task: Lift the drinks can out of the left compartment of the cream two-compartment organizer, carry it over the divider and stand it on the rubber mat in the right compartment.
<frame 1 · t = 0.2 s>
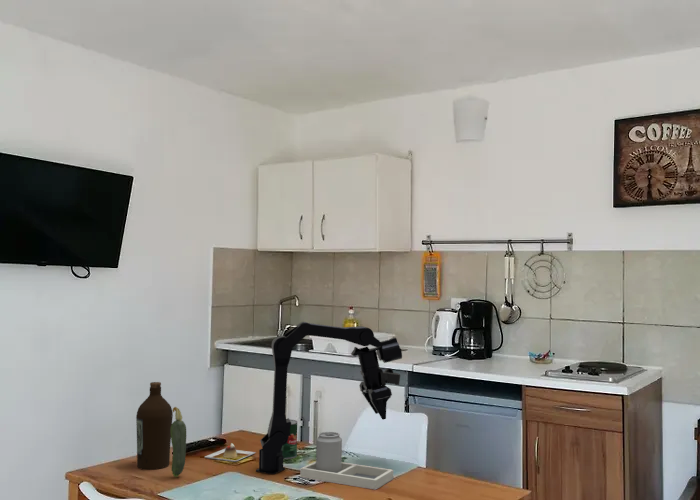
hand: (380, 416, 205), 15 cm above the table, tool pointing down, fingers open, 9 cm apart
can: (328, 475, 195), resting in organizer
vegetable: (177, 478, 190), on the table
organizer: (346, 477, 192), on the table
dessert: (230, 458, 215), on the table
canned tomato: (284, 456, 216), on the table
mat: (364, 480, 189), resting in organizer
olive oil: (152, 466, 202), on the table
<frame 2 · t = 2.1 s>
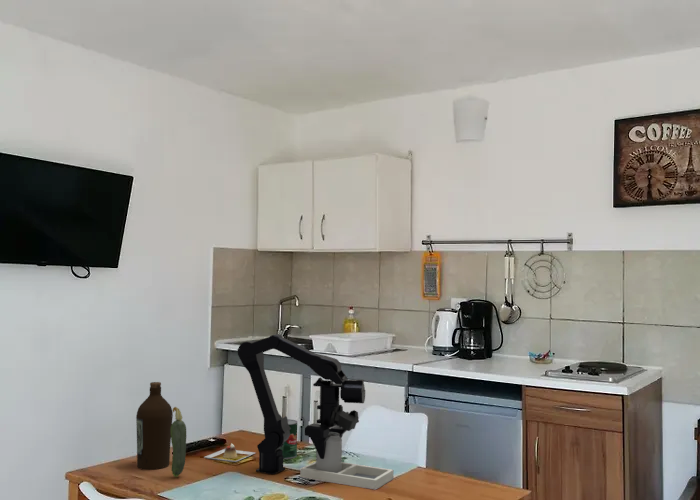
hand: (328, 455, 195), 6 cm above the table, tool pointing down, fingers closed on can, 7 cm apart
can: (328, 475, 195), resting in organizer, touching gripper
everything else where it was.
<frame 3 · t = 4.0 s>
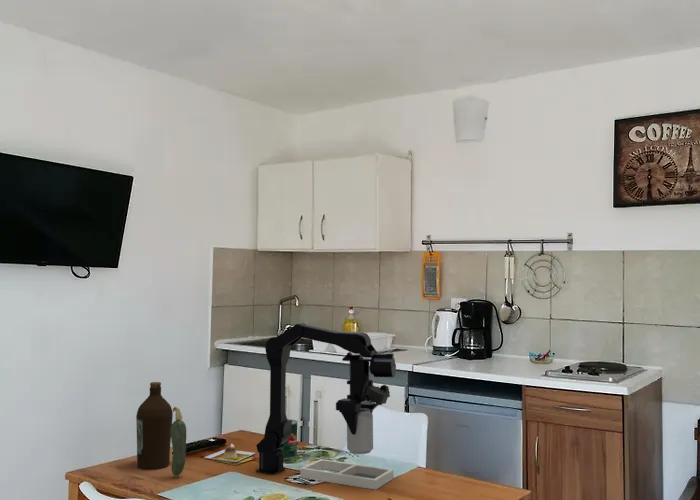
hand: (359, 431, 191), 14 cm above the table, tool pointing down, fingers closed on can, 7 cm apart
can: (360, 452, 191), point 8 cm above the table, touching gripper
everything else where it was.
when the fingers open (7 cm above the table, at t = 5.9 s): can stays where it is, resting on mat.
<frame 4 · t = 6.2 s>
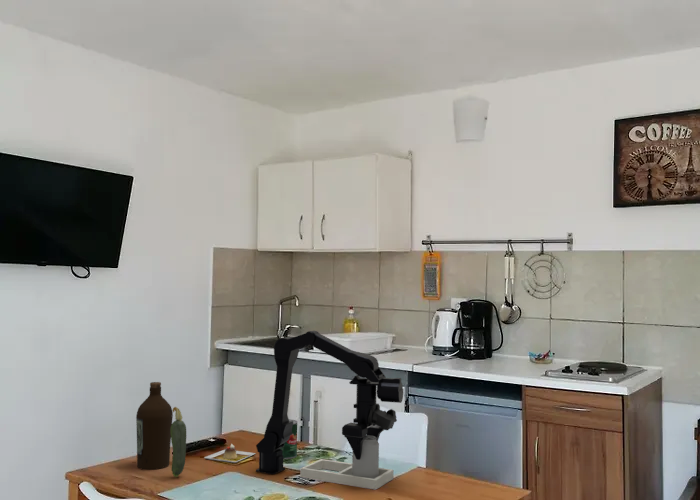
hand: (365, 455, 189), 7 cm above the table, tool pointing down, fingers open, 9 cm apart
can: (365, 480, 189), resting on mat
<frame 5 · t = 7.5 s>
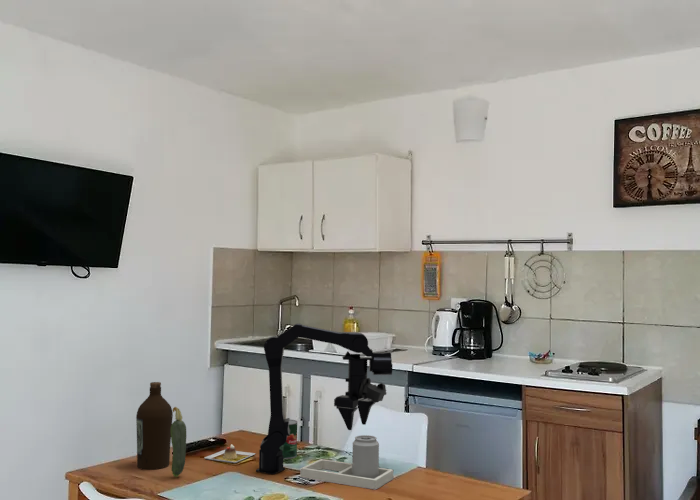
hand: (357, 427, 200), 13 cm above the table, tool pointing down, fingers open, 9 cm apart
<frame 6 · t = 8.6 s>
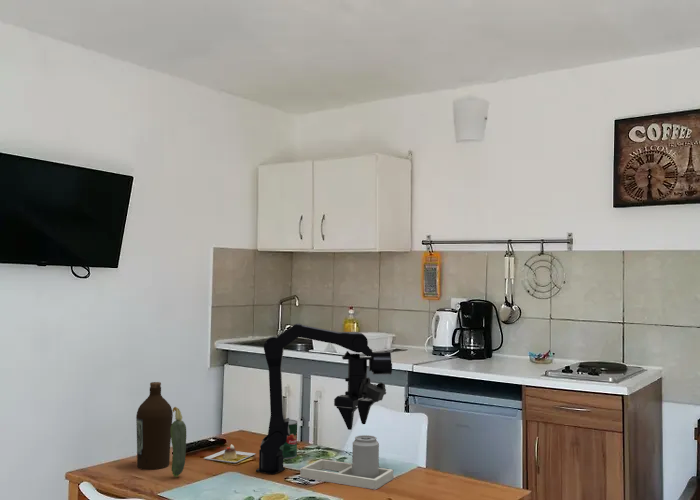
hand: (356, 426, 200), 13 cm above the table, tool pointing down, fingers open, 9 cm apart
at the end: can inside the target area (0.1 cm from its centre), resting on mat; can tilted 0°; the gripper is holding nothing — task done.
